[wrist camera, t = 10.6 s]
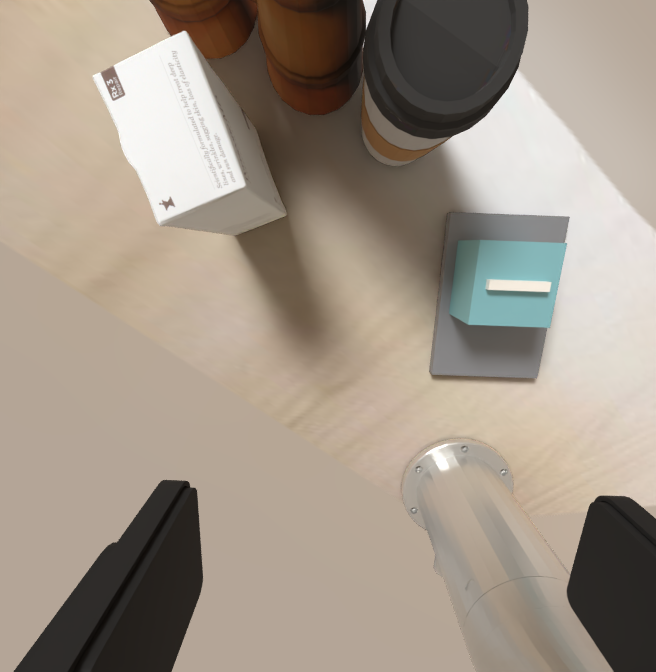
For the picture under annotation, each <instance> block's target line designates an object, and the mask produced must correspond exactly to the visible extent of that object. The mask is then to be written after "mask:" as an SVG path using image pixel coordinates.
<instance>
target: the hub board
mask: <svg viewBox="0 0 656 672" xmlns="http://www.w3.org/2000/svg"><path fill="white" fill-rule="evenodd" d="M568 222H569V217H563V216H536V215H509V214H481V213H454V212H451V213H448V214H447V223H446V231H445V240H444V248H443V257H442V266H441V274H440V283H439V291H438V300H437V309H436V317H435V326H434V334H433V343H432V352H431V360H430V369H429V372H430V373H431V374H432V375H458V376H486V377H514V378H537V376H538V371H539V366H540V361H541V356H542V351H543V347H544V342H545V337H546V332H547V328H544V327H517V326H490V325H468V324H466V323H464V322H463V321H461V320H459V319H458V318H456V317H454V316H452V315H451V314H449V309H450V301H451V293H452V285H453V277H454V269H455V262H456V254H457V246H458V241H460V240H496V241H522V242H549V243H564V242H565V237H566V232H567V227H568Z"/></svg>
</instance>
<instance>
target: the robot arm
mask: <svg viewBox="0 0 656 672" xmlns="http://www.w3.org/2000/svg"><path fill="white" fill-rule="evenodd" d="M513 485H514V484H513V476H512V473H511V471H510V468H509V466H508V465H507V463H506V462H505V460H504V459H503V458H502V457H501V455H500V454H499V453H498V452H497V451H496V450H494V449H493V448H492V447H490V446H489V445H486V444H484V443H482V442H480V441H476V440H472V439H463V438H457V439H448V440H444V441H441V442H438V443H435V444H433V445H431V446H429V447H427V448H426V449H424V450H423V451H421V452H420V453H419V454H418V455H417V456H416V457H415V458H414V459H413V460H412V461H411V463H410V464H409V465H408V467H407V469H406V471H405V473H404V475H403V479H402V484H401V494H402V498H403V502H404V505H405V508H406V510H407V512H408V514H409V515H410V517H411V518H412V519H413V520H414V521H415V522H416V523H417V524H418V525H419V526H421V527H422V528H424V529H425V530H427V531H428V534H429V537H430V540H431V543H432V546H433V549H434V552H435V561H434V570H435V572H436V573H437V574H438V575H440V576H442V577H443V579H444V582H445V584H446V587H447V590H448V593H449V596H450V599H451V602H452V605H453V608H454V611H455V614H456V617H457V620H458V623H459V626H460V629H461V631H462V634H463V637H464V640H465V643H466V647H467V649H468V652H469V655H470V658H471V661H472V663H473V666H474V668H475V670H476V672H656V519H655V518H654V517H653V516H652V515H650V513H648V512H647V511H646V510H645V509H644V508H642V507H641V506H640V505H639V504H638V503H636V502H635V501H634V500H632V499H631V498H629V497H625V496H598V497H597V498H596V499H595V501H594V502H592V503H591V504H590V506H589V509H588V512H587V516H586V520H585V523H584V527H583V531H582V535H581V538H580V542H579V545H578V549H577V553H576V556H575V560H574V564H573V567H572V571H571V575H570V573H569V572H568V570H567V569H566V568H565V566H564V565H563V564H562V562H561V561H560V560H559V558H558V557H557V555H556V554H555V553H554V551H553V550H552V549H551V547H550V546H549V545H548V543H547V542H546V540H545V539H544V537H543V536H542V535H541V534H540V532H539V531H538V529H537V528H536V526H535V525H534V524H533V522H532V521H531V520H530V518H529V517H528V515H527V514H526V513H525V511H524V510H523V509H522V507H521V506H520V504H519V503H518V502H517V500H516V499H515V498H514V496H513V495H512V494H513ZM202 582H203V571H202V556H201V543H200V528H199V513H198V498H197V490H196V488H190V484H189V482H188V481H177V480H163V481H161V482H160V483H159V484H158V486H157V487H156V489H155V490H154V491H153V493H152V494H151V496H150V497H149V498H148V500H147V502H146V503H145V504H144V506H143V507H142V508H141V510H140V511H139V513H138V514H137V515H136V517H135V518H134V520H133V521H132V522H131V524H130V525H129V527H128V528H127V529H126V531H125V532H124V534H123V535H122V536H121V538H120V539H119V541H118V542H117V543H112V544H110V545H108V546H107V547H106V548H105V549H104V551H103V552H102V553H101V554H100V556H99V557H98V558H97V560H96V561H95V562H94V564H93V565H92V566H91V568H90V569H89V570H88V572H87V573H86V574H85V576H84V577H83V578H82V580H81V581H80V583H79V584H78V585H77V587H76V588H75V589H74V591H73V592H72V593H71V595H70V596H69V598H68V599H67V600H66V601H65V603H64V604H63V606H62V607H61V608H60V610H59V611H58V612H57V614H56V615H55V616H54V618H53V619H52V620H51V622H50V623H49V625H48V626H47V627H46V628H45V630H44V632H43V633H42V634H41V635H40V637H39V638H38V639H37V641H36V642H35V644H34V645H33V646H32V647H31V649H30V650H29V652H28V653H27V654H26V656H25V657H24V658H23V660H22V661H21V662H20V664H19V665H18V666H17V668H16V669H15V670H14V672H171V671H172V669H173V666H174V663H175V661H176V658H177V655H178V652H179V650H180V647H181V644H182V642H183V639H184V636H185V634H186V631H187V628H188V625H189V623H190V620H191V617H192V615H193V612H194V609H195V607H196V604H197V601H198V599H199V595H200V592H201V588H202Z"/></svg>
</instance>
